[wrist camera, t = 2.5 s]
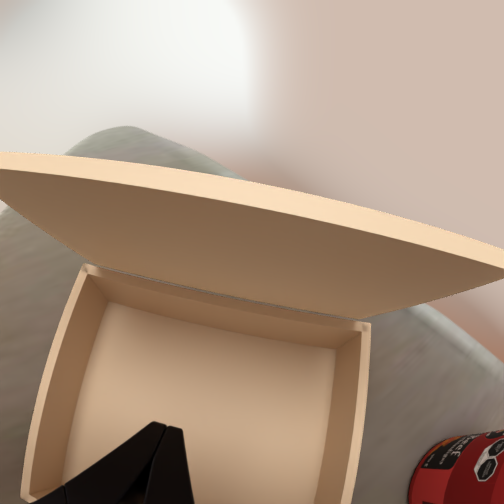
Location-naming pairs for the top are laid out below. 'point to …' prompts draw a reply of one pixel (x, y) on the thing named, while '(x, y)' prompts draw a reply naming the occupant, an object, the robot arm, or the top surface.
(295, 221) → the carton flap
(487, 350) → the top surface
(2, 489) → the top surface
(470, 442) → the canned food
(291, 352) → the carton
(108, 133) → the top surface
